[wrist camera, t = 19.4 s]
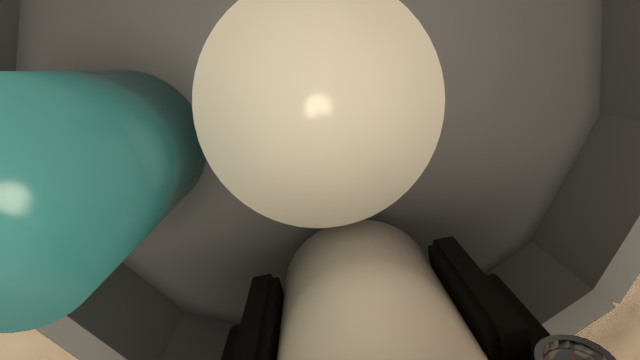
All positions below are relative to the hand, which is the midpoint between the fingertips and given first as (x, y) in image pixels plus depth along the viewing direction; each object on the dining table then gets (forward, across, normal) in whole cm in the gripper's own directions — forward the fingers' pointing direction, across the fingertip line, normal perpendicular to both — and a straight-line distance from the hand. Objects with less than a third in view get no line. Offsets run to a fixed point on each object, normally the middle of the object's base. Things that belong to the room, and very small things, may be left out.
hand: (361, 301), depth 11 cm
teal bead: (+3, +6, -6) cm, 9 cm away
